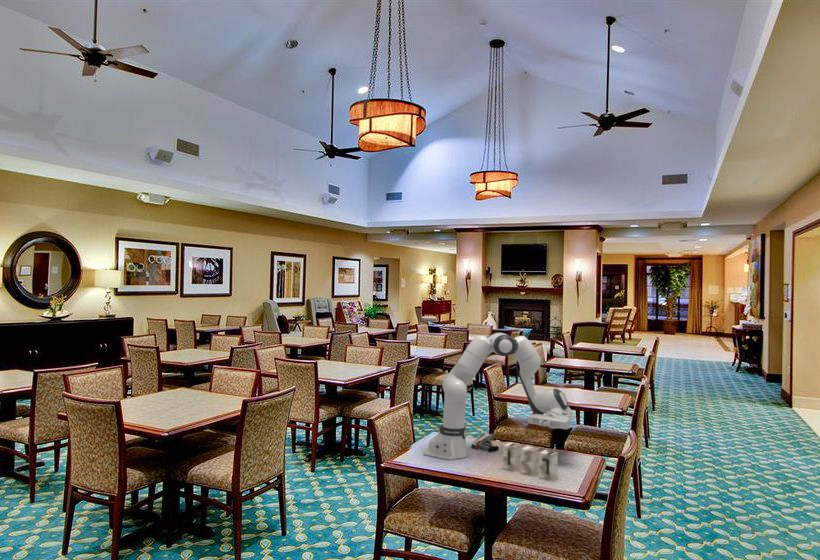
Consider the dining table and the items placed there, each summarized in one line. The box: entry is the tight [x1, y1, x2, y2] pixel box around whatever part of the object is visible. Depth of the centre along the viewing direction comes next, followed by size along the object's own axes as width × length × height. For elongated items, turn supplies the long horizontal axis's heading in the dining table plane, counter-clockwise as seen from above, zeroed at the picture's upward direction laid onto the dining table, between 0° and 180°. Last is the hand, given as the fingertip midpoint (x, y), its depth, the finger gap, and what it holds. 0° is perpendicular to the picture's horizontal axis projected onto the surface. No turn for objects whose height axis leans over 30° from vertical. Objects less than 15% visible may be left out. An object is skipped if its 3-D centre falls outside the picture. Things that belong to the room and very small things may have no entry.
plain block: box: [520, 445, 540, 477], centre depth 235 cm, size 6×6×11 cm
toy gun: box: [470, 433, 500, 453], centre depth 280 cm, size 3×29×15 cm
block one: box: [502, 441, 522, 472], centre depth 241 cm, size 6×6×11 cm
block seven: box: [538, 449, 559, 482], centre depth 229 cm, size 6×6×11 cm
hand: (541, 424), depth 245 cm, fingers closed
